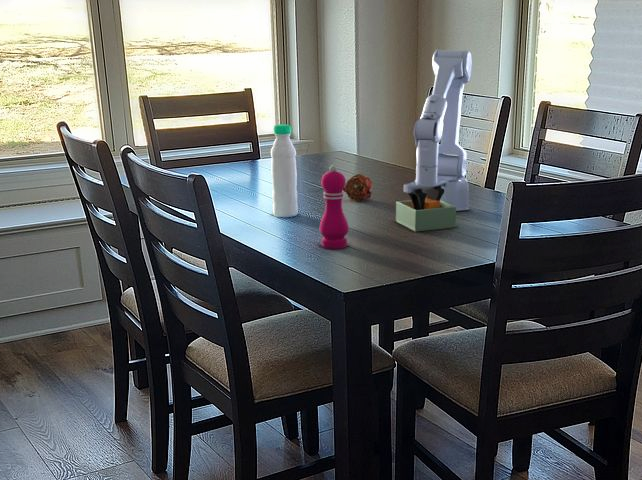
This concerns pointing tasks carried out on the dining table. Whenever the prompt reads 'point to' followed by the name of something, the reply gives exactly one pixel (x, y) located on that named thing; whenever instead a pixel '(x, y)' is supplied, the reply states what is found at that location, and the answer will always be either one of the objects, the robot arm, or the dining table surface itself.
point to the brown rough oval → (358, 187)
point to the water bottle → (284, 173)
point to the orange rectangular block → (430, 204)
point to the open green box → (425, 216)
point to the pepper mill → (333, 210)
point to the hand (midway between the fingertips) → (425, 215)
